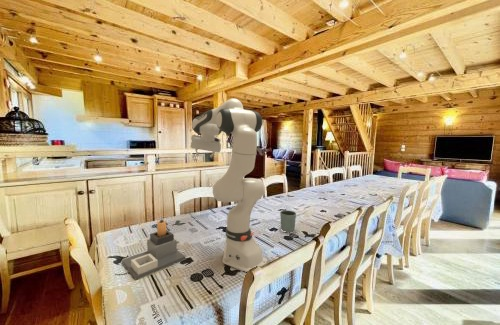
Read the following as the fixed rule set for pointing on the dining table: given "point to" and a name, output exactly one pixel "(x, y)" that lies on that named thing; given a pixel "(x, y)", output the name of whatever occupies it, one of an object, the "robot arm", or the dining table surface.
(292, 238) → the dining table surface
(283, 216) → the grey cup
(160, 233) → the plug
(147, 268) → the grey socket base
